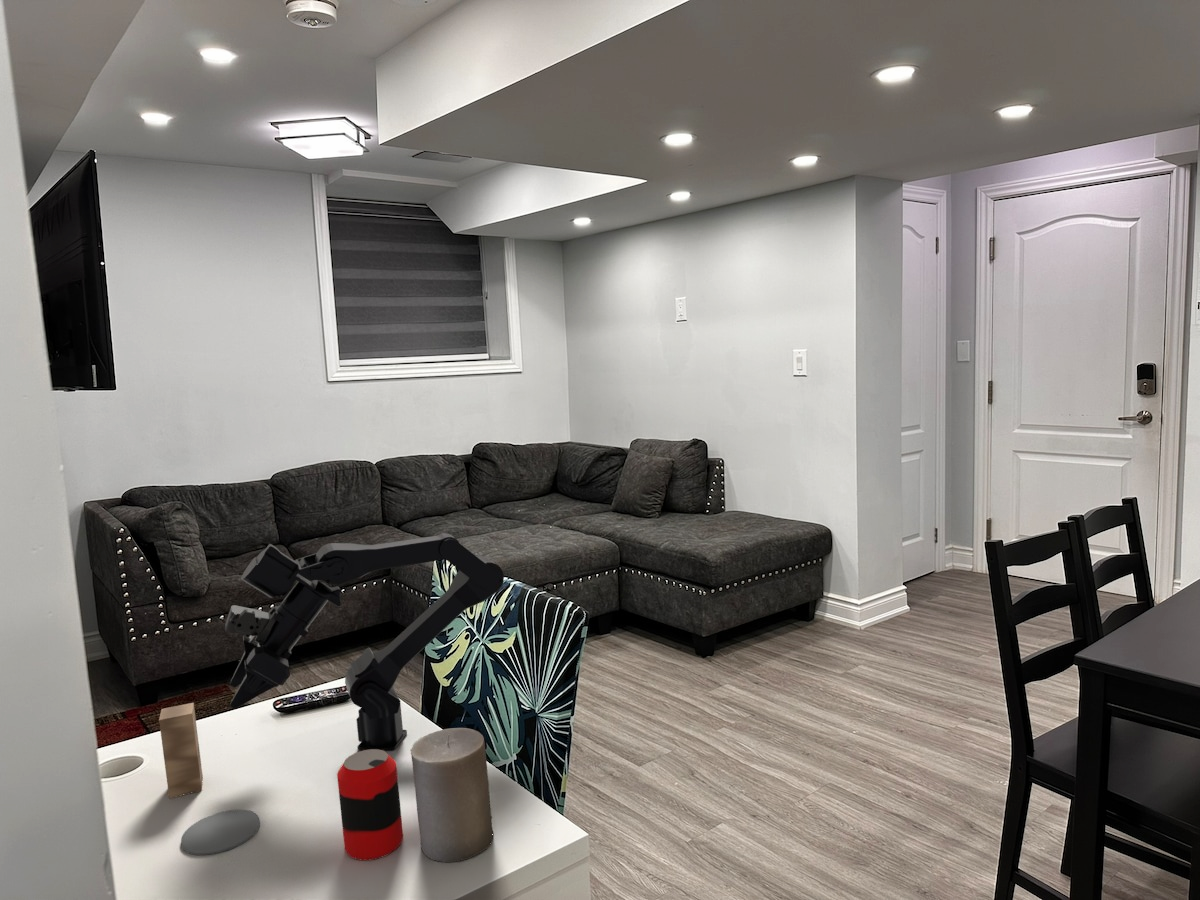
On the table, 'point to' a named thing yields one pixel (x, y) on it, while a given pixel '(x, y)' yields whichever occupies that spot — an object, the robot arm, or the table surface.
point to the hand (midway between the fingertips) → (232, 696)
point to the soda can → (370, 804)
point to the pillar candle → (452, 794)
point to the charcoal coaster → (220, 832)
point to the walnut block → (181, 749)
